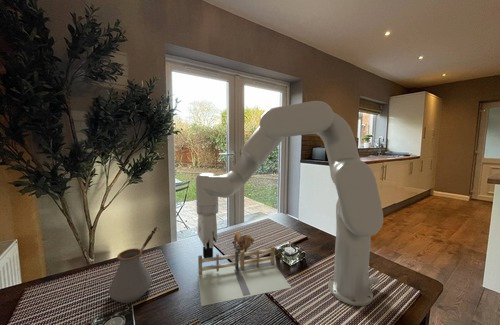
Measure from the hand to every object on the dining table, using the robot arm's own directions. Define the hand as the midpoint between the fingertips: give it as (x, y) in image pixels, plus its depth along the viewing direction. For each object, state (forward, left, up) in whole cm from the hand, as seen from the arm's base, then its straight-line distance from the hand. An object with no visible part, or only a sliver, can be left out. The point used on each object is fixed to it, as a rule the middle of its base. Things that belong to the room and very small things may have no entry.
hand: (208, 257), depth 78 cm
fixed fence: (-17, +4, -4) cm, 18 cm away
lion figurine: (-15, -9, -5) cm, 18 cm away
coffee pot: (+22, +2, -5) cm, 22 cm away
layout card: (-10, +9, -4) cm, 14 cm away
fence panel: (-3, +4, -3) cm, 6 cm away
